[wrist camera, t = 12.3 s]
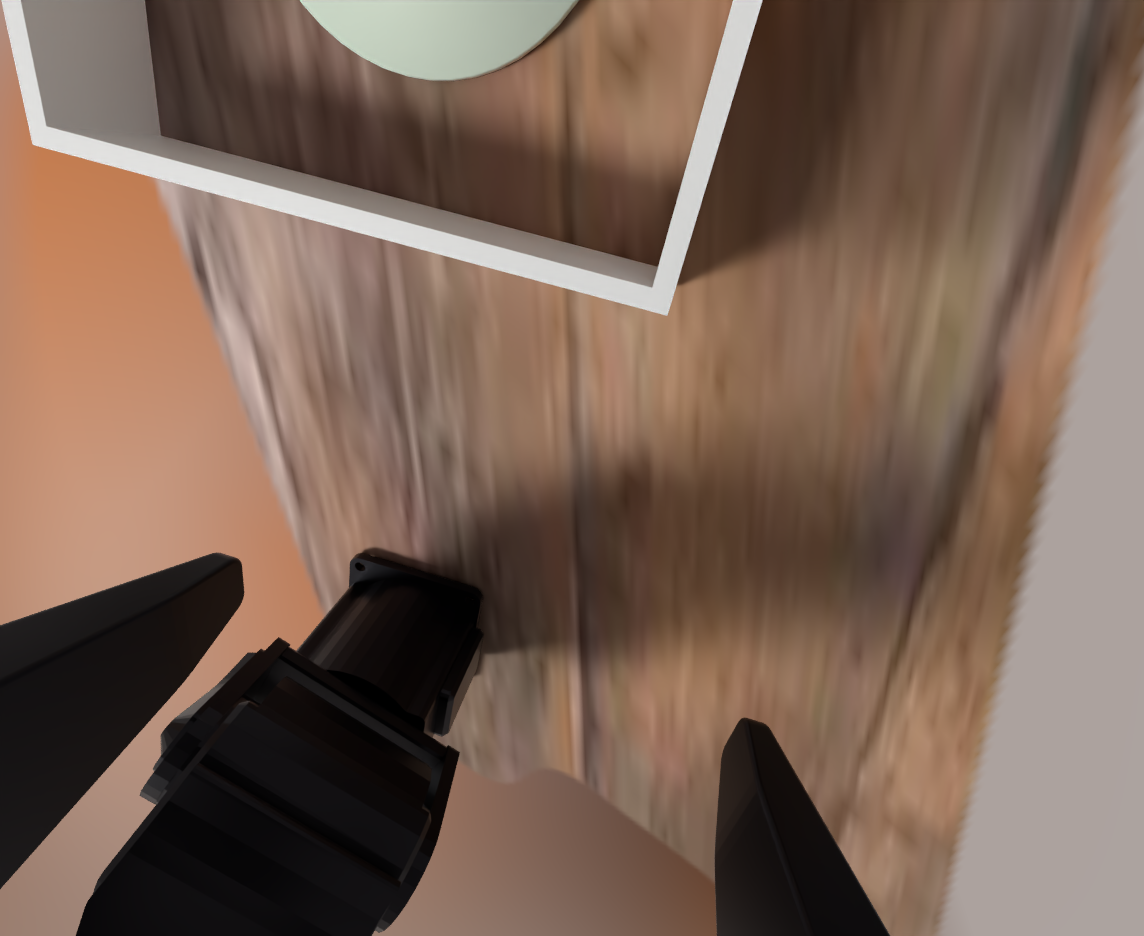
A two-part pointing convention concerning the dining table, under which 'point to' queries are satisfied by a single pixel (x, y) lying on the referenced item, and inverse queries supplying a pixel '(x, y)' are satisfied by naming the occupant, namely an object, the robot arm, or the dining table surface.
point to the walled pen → (394, 42)
